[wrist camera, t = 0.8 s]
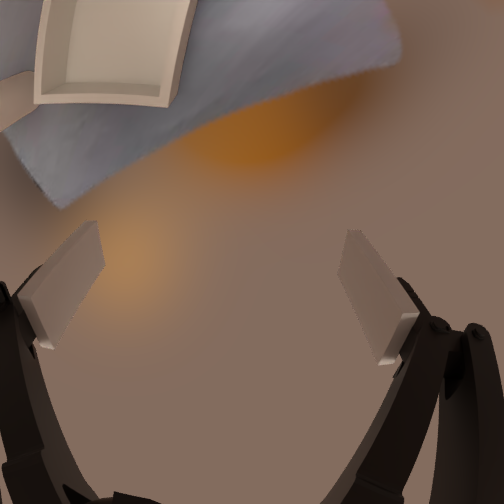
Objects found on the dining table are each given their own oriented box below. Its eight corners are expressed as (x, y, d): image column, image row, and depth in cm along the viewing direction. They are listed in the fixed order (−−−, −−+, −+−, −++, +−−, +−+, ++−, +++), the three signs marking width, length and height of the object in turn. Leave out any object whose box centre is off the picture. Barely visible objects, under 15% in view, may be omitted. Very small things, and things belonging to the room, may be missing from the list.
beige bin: (78, -23, 20) (50, -30, 14) (205, -25, 24) (201, -39, 18) (61, 89, 31) (33, 104, 25) (177, 94, 35) (167, 107, 29)
